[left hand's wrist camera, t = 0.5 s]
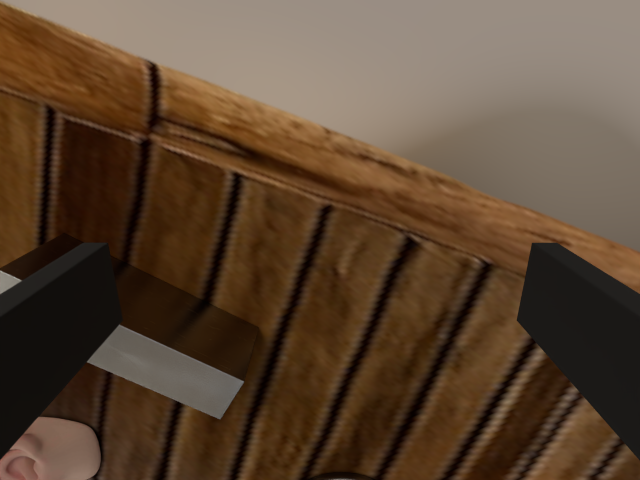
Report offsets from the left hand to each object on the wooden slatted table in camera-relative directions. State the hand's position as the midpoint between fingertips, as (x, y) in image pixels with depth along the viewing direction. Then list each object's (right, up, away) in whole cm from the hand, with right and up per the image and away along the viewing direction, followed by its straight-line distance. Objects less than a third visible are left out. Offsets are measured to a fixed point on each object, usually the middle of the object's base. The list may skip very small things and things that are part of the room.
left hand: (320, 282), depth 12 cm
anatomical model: (-33, -25, +36) cm, 54 cm away
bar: (-17, -5, +28) cm, 33 cm away
